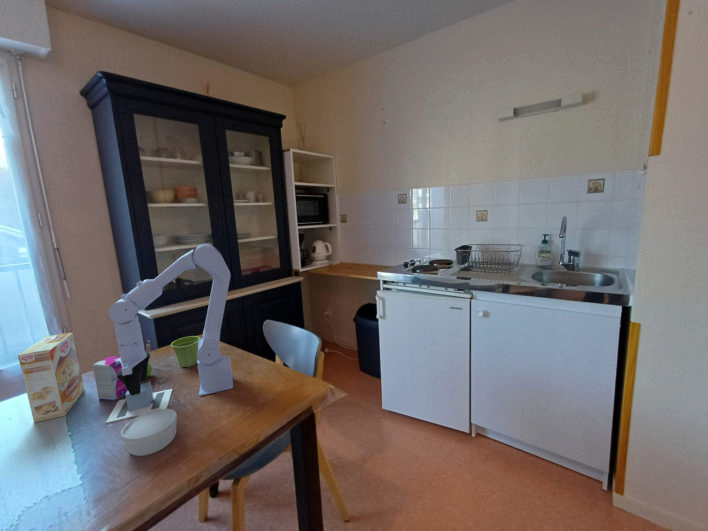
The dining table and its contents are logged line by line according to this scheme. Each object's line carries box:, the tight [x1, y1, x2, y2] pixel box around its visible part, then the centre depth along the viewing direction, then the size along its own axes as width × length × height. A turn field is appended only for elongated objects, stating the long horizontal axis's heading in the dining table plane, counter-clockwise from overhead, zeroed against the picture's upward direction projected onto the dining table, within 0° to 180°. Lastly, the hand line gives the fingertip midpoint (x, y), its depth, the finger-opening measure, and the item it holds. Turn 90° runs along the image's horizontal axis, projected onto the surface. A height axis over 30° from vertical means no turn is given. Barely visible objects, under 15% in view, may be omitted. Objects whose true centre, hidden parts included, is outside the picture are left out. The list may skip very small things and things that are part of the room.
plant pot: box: [170, 335, 201, 368], centre depth 116 cm, size 9×9×9 cm
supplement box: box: [92, 355, 128, 402], centre depth 97 cm, size 6×6×12 cm
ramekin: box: [120, 408, 178, 457], centre depth 76 cm, size 11×11×5 cm
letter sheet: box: [105, 388, 173, 424], centre depth 92 cm, size 14×11×1 cm
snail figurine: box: [145, 340, 153, 378], centre depth 107 cm, size 5×6×12 cm
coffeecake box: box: [17, 332, 86, 423], centre depth 92 cm, size 15×7×20 cm, turn 23°
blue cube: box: [124, 381, 154, 412], centre depth 91 cm, size 5×5×5 cm
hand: (139, 387), depth 91 cm, fingers open, 7 cm apart
